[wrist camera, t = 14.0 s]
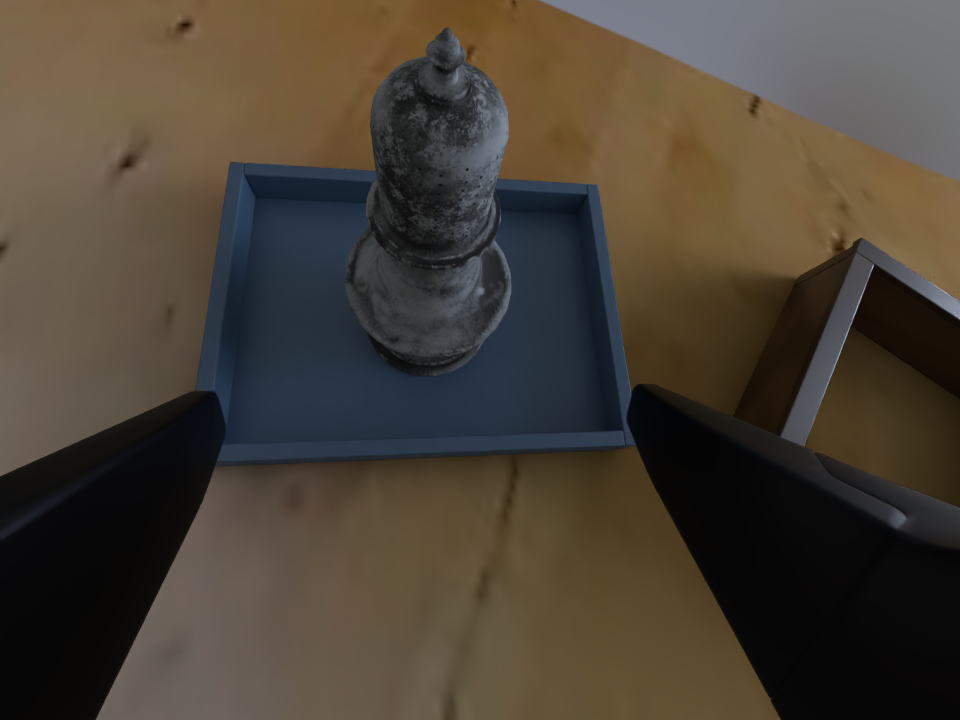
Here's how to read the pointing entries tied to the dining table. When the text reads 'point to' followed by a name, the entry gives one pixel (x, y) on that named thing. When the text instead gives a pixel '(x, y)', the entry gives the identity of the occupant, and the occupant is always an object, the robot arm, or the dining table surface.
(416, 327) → the grey chess piece
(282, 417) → the tray
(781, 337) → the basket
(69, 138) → the dining table surface
